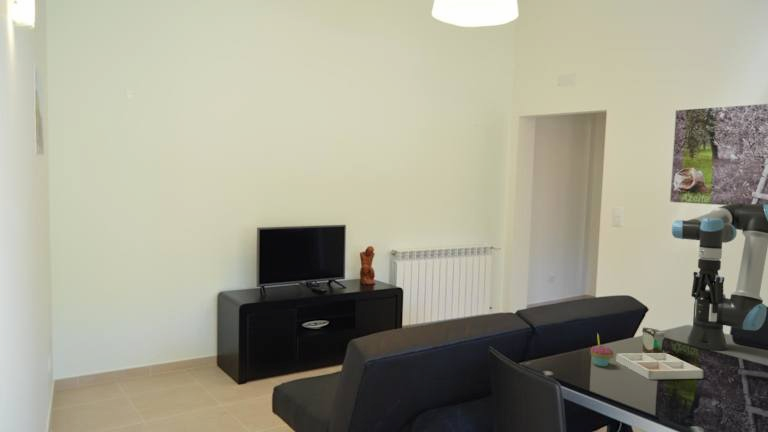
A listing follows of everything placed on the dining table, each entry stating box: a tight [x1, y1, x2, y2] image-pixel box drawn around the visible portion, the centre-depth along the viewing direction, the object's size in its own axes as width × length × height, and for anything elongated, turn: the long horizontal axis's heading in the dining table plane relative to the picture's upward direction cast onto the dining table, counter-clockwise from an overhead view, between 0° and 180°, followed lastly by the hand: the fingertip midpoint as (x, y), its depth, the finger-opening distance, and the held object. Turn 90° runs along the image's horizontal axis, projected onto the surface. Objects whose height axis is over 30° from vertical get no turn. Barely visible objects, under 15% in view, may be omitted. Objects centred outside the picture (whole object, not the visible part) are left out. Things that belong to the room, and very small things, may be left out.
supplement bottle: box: [695, 289, 716, 323], centre depth 224 cm, size 7×7×12 cm
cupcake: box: [589, 332, 615, 367], centre depth 225 cm, size 9×8×12 cm
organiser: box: [615, 352, 705, 380], centre depth 221 cm, size 21×21×3 cm
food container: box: [641, 327, 666, 353], centre depth 241 cm, size 12×6×10 cm, turn 179°
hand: (705, 318), depth 224 cm, fingers closed on supplement bottle, 7 cm apart
